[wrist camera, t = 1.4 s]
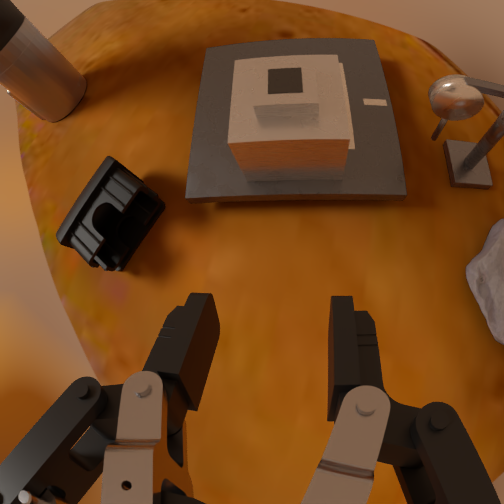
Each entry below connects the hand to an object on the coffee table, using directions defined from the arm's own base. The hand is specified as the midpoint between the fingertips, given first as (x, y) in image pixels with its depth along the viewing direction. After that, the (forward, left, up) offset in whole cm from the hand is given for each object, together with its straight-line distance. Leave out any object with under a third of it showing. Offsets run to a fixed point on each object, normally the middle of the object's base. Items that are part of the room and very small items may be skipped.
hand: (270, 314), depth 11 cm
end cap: (-19, +9, -18) cm, 28 cm away
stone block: (+22, +2, -19) cm, 29 cm away
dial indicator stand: (+16, +15, -18) cm, 29 cm away
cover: (0, +16, -15) cm, 21 cm away
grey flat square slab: (0, +20, -16) cm, 26 cm away
